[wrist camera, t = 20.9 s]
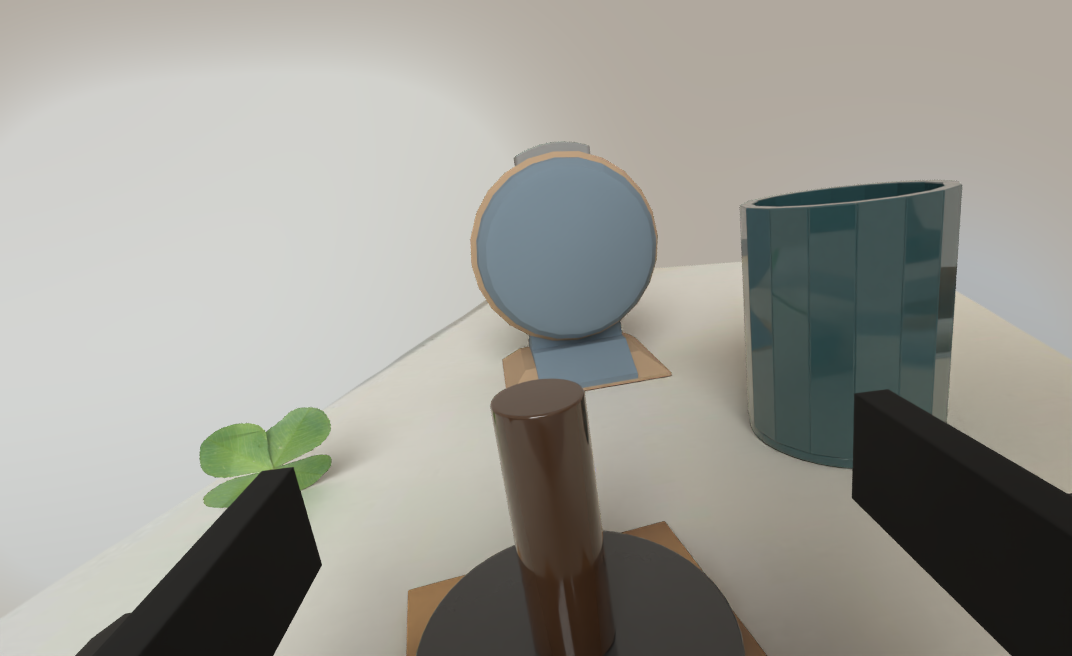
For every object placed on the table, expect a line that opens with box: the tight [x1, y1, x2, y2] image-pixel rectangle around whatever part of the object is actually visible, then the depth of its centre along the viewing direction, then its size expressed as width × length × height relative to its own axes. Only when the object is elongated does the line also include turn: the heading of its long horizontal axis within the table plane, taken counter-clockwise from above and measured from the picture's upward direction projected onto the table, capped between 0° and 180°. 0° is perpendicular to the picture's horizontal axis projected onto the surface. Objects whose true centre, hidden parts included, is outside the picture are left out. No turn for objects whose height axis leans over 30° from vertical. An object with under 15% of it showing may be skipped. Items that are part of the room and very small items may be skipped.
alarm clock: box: [471, 142, 672, 391], centre depth 42 cm, size 14×10×18 cm
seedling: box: [200, 407, 331, 508], centre depth 27 cm, size 7×8×7 cm
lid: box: [416, 379, 745, 656], centre depth 16 cm, size 10×10×9 cm
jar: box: [740, 180, 962, 468], centre depth 28 cm, size 9×9×12 cm
